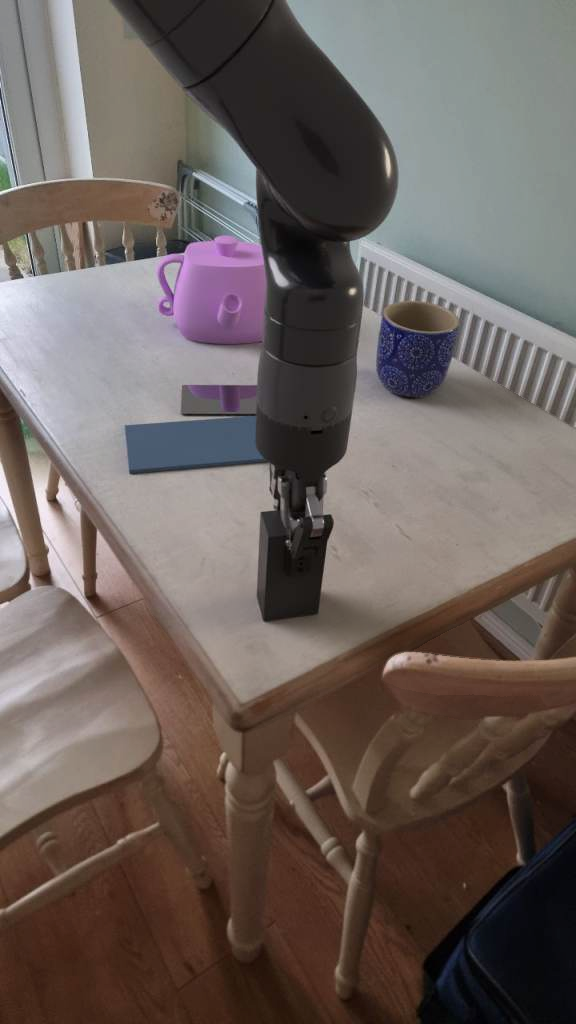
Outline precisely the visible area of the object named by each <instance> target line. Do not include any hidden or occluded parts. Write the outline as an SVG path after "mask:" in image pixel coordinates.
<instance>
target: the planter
mask: <svg viewBox="0 0 576 1024" xmlns="http://www.w3.org/2000/svg"><path fill="white" fill-rule="evenodd" d="M460 321H461V320H460V318H459V317H458V316H457V314H455V312H454V311H452V310H450V309H449V308H446V307H444V306H441V305H440V304H436V303H432V302H427V301H421V300H420V301H419V300H405V301H404V300H403V301H397V302H394V303H391V304H388V306H387V305H386V307H385V308H384V309H383V311H382V315H381V319H380V326H379V331H378V332H379V333H378V340H377V346H376V357H375V370H376V374H377V377H378V379H379V381H380V383H381V384H382V386H383V387H384V388H385V389H387V390H388V391H389V392H391V393H393V394H395V395H398V396H400V397H403V398H404V397H405V398H422V397H426V396H429V395H431V394H432V393H434V392H436V391H437V390H438V389H439V388H440V387H441V386H442V384H443V383H444V382H445V380H446V378H447V375H448V372H449V370H450V366H451V363H452V359H453V355H454V351H455V348H456V343H457V338H458V335H459V330H460V324H461V323H460Z"/></svg>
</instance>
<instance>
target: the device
mask: <svg viewBox="0 0 576 1024" xmlns="http://www.w3.org/2000/svg"><path fill="white" fill-rule="evenodd" d="M293 513H295V512H293V511H290V514H293ZM298 513H302V512H298ZM259 514H260V515H259V535H258V536H259V537H258V556H257V557H258V559H257V581H256V599H257V602H258V607H259V610H260V612H261V618H262V620H263V622H268V621H276V620H283V619H285V620H286V619H292V618H298V617H299V618H300V617H306V616H314V615H318V614H319V611H320V610H319V609H320V602H321V593H322V585H323V579H324V572H325V563H326V556H327V547H328V543H327V544H326V546H325V549H324V551H323V553H322V556H311V560H310V569H309V573H308V574H307V575H304V576H296V577H287V576H286V574H285V571H284V564H285V551H286V544H285V541H286V528H285V527H284V525H283V523H282V521H281V510H274V509H273V510H266V511H260V513H259ZM296 530H297V528H296V529H295V533H296Z"/></svg>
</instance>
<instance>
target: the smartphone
mask: <svg viewBox="0 0 576 1024" xmlns="http://www.w3.org/2000/svg"><path fill="white" fill-rule="evenodd" d="M256 408H257V384H182V385H181V401H180V414H181V415H182V416H183V415H186V416H187V415H189V416H191V415H209V416H210V415H211V416H213V415H215V416H216V415H221V416H222V415H224V416H227V415H229V416H231V415H232V416H233V415H235V416H236V415H238V416H239V415H241V416H243V415H244V416H246V415H249V416H256Z"/></svg>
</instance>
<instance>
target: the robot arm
mask: <svg viewBox="0 0 576 1024" xmlns="http://www.w3.org/2000/svg"><path fill="white" fill-rule="evenodd" d="M108 2H109V4H111V6H112V7H113V8H114V10H115V11H116V12H117V14H119V16H120V17H121V18H122V20H124V22H125V23H126V25H127V26H128V27H129V29H131V30H132V32H133V33H134V34H135V35H136V37H138V39H139V40H140V41H141V42H142V43H143V45H144V46H145V48H147V50H148V51H149V52H150V54H152V56H153V57H154V58H155V59H156V60H157V61H158V63H159V64H160V65H161V67H163V68H164V70H165V71H166V72H167V73H168V74H169V75H170V77H171V78H172V79H173V80H174V81H175V83H176V84H177V85H178V86H179V87H180V88H181V90H182V91H183V92H184V93H185V94H186V95H187V96H188V97H189V99H190V100H191V101H192V102H193V103H194V104H195V105H196V106H197V107H198V108H199V109H201V110H202V111H203V112H204V113H205V115H207V116H208V117H209V118H210V119H212V120H213V121H214V122H215V123H216V124H217V125H219V126H220V127H221V128H222V129H223V130H225V132H226V133H228V135H229V136H230V137H231V138H232V139H233V141H234V142H235V143H236V144H237V145H238V147H239V148H240V149H241V151H242V152H243V154H244V155H245V156H246V157H247V158H248V159H249V161H250V162H251V163H252V165H253V166H254V167H255V194H256V208H257V218H258V227H259V237H260V246H261V247H262V254H263V260H264V267H265V276H266V288H265V296H264V316H263V341H261V350H260V356H259V361H258V367H257V380H256V381H257V384H256V385H257V408H256V415H255V416H256V435H255V443H256V447H257V450H258V452H259V453H260V455H261V456H262V457H263V458H264V459H265V460H266V461H268V462H267V463H268V464H269V465H268V466H269V467H268V468H269V486H268V487H269V488H268V489H269V492H270V495H271V496H272V497H273V503H272V508H273V511H274V510H281V521H282V523H283V525H284V527H285V528H286V541H285V544H286V551H285V564H284V571H285V574H286V576H287V577H296V576H304V575H307V574H308V573H309V569H310V560H311V556H322V553H323V551H324V549H325V546H326V544H327V545H328V541H329V539H330V536H331V534H332V531H333V529H334V524H335V520H334V518H333V515H332V514H330V513H329V514H324V498H325V495H326V494H327V491H328V489H327V488H328V478H327V473H326V472H327V471H328V470H329V469H331V468H333V467H334V466H335V465H338V463H340V461H342V459H343V458H344V457H345V455H346V453H347V450H348V444H349V437H350V430H351V424H352V423H351V422H352V415H353V409H354V402H355V395H356V393H355V392H356V387H357V379H358V361H357V360H358V349H359V342H360V341H359V340H360V333H361V325H362V324H361V323H362V318H363V309H364V297H365V291H364V289H365V288H364V281H363V278H362V275H361V273H360V271H359V269H358V267H357V266H356V263H355V261H354V258H353V256H352V251H351V242H353V241H357V240H360V239H362V238H365V237H366V236H369V235H370V234H371V233H373V232H375V230H377V229H378V228H379V227H380V226H381V225H382V224H383V222H384V221H385V220H386V219H387V217H388V216H389V214H390V213H391V211H392V209H393V206H394V203H395V202H396V197H397V194H398V188H399V176H400V175H399V164H398V160H397V155H396V151H395V149H394V146H393V143H392V141H391V139H390V137H389V135H388V133H387V132H386V130H385V128H384V126H383V124H382V123H381V121H380V120H379V118H378V117H377V115H375V113H374V112H373V110H372V109H371V108H370V107H369V105H368V104H367V103H366V101H365V100H364V99H363V98H362V96H361V95H360V94H359V92H358V91H357V90H356V89H355V88H354V87H353V85H352V84H351V82H349V81H348V79H347V78H346V76H344V75H343V73H342V72H341V71H340V70H339V68H338V67H337V66H336V65H335V63H334V62H333V61H332V60H331V59H330V58H329V56H328V55H327V54H326V53H325V52H324V51H323V50H322V49H321V48H320V47H319V45H318V44H317V43H316V42H315V41H314V40H313V39H312V38H311V36H309V34H308V33H307V31H306V29H304V27H303V26H302V25H301V23H300V22H299V20H298V19H297V17H296V16H295V14H294V13H293V10H292V9H291V7H290V5H289V3H288V2H287V0H108ZM290 511H293V512H295V513H293V514H290ZM298 512H302V513H298ZM296 528H297V530H296V533H295V529H296Z"/></svg>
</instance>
